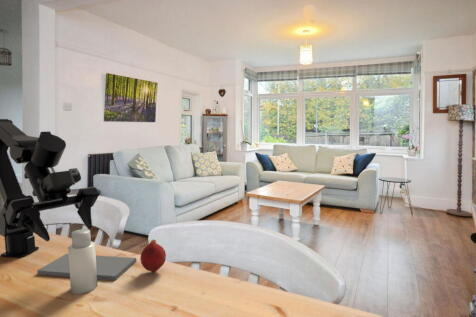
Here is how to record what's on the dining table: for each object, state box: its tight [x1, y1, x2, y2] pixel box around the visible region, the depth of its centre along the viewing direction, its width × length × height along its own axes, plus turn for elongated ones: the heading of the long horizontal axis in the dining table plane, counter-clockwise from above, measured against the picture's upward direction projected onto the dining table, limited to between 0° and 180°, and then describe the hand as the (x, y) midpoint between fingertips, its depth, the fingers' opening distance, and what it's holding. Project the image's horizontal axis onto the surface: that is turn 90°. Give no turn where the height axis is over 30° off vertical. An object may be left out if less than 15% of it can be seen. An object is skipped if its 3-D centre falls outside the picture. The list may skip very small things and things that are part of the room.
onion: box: [139, 238, 167, 273], centre depth 76 cm, size 6×6×8 cm
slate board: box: [36, 253, 137, 281], centre depth 79 cm, size 20×10×1 cm, turn 81°
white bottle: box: [67, 228, 98, 295], centre depth 69 cm, size 5×5×12 cm
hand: (70, 234), depth 71 cm, fingers open, 9 cm apart
